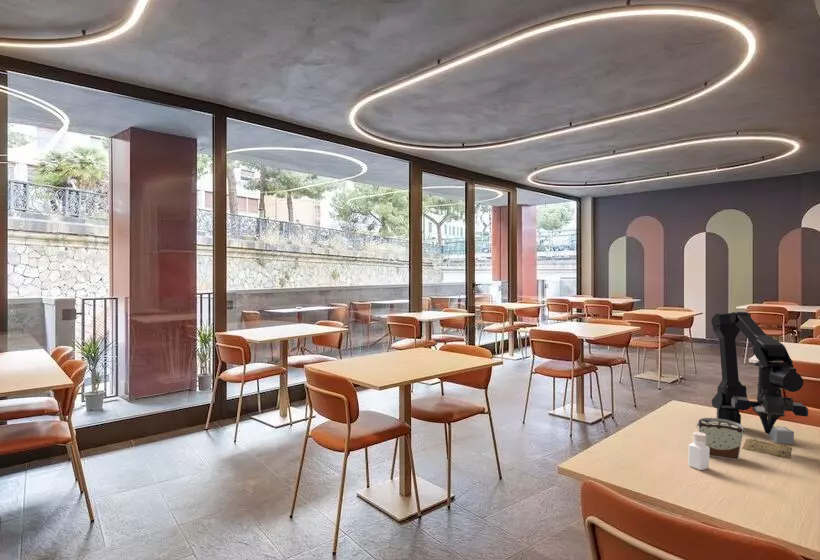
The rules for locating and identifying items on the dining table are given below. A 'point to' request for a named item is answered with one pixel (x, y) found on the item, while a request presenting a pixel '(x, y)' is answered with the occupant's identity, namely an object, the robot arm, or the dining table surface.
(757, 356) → the robot arm
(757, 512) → the dining table surface
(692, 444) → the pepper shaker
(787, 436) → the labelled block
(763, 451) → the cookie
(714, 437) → the food container
